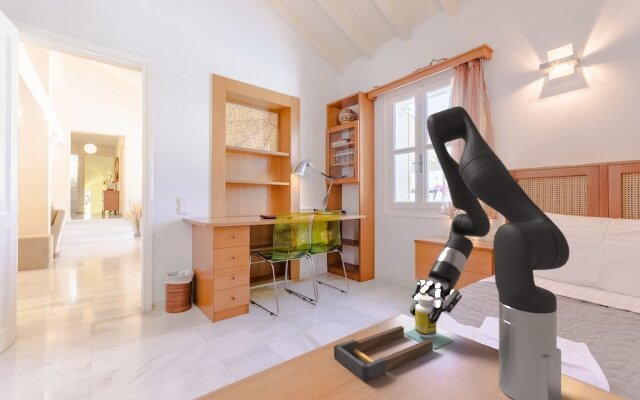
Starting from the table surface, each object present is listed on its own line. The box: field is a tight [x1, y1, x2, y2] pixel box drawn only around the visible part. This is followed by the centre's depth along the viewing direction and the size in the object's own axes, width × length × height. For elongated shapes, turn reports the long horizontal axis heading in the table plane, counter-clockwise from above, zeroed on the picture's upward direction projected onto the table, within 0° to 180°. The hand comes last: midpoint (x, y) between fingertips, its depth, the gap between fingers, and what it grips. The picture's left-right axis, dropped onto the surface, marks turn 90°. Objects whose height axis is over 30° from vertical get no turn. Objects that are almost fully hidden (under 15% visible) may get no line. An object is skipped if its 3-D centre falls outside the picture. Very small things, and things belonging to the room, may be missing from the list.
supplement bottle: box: [414, 294, 437, 338], centre depth 79 cm, size 5×5×10 cm
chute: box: [356, 325, 434, 373], centre depth 73 cm, size 10×16×2 cm, turn 123°
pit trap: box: [333, 338, 387, 383], centre depth 67 cm, size 11×6×3 cm, turn 33°
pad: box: [404, 328, 454, 351], centre depth 80 cm, size 10×8×1 cm
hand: (421, 317), depth 78 cm, fingers closed on supplement bottle, 5 cm apart
